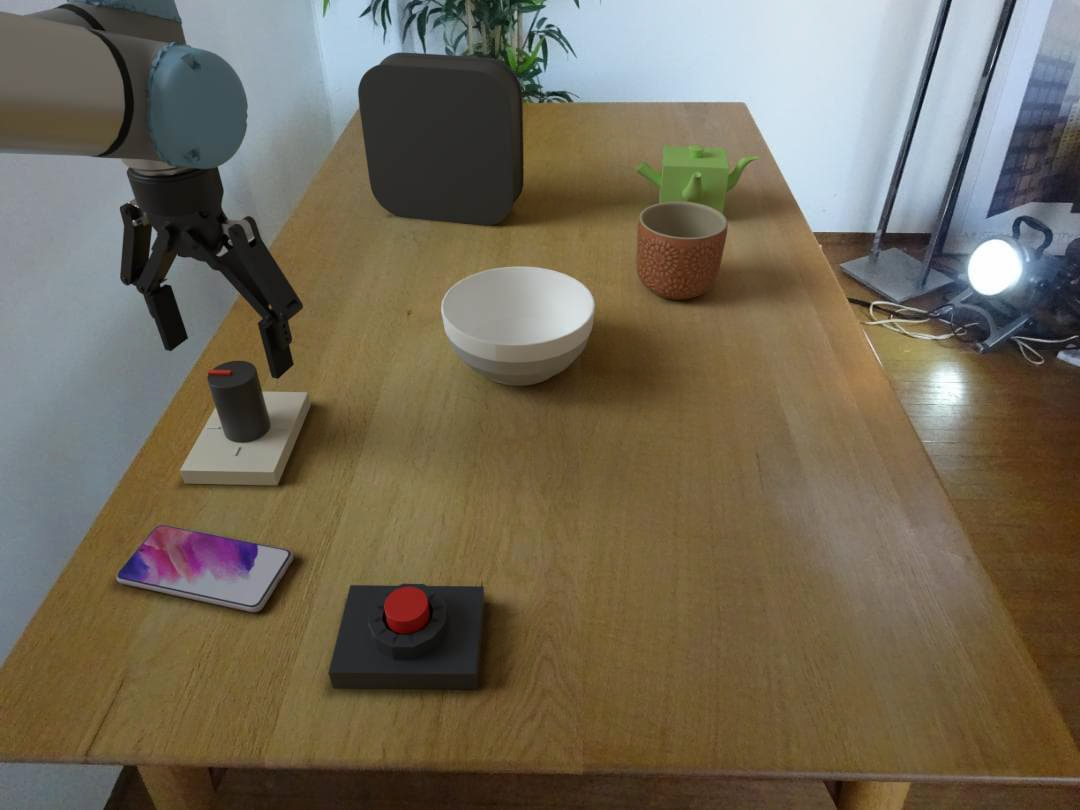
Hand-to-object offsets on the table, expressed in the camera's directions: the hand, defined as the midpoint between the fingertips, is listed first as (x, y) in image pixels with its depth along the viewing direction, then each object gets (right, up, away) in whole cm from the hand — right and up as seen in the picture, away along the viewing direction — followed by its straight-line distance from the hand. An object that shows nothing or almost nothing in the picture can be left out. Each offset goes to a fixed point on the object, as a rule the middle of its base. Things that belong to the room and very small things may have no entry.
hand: (228, 357), depth 84 cm
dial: (0, -8, +6) cm, 9 cm away
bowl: (+30, 0, +20) cm, 36 cm away
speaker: (+17, +29, +56) cm, 65 cm away
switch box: (+21, -26, -14) cm, 36 cm away
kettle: (+59, +28, +56) cm, 86 cm away
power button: (+21, -23, -16) cm, 35 cm away
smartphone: (+1, -21, -8) cm, 22 cm away
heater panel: (0, -9, +7) cm, 12 cm away
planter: (+53, +12, +35) cm, 64 cm away
